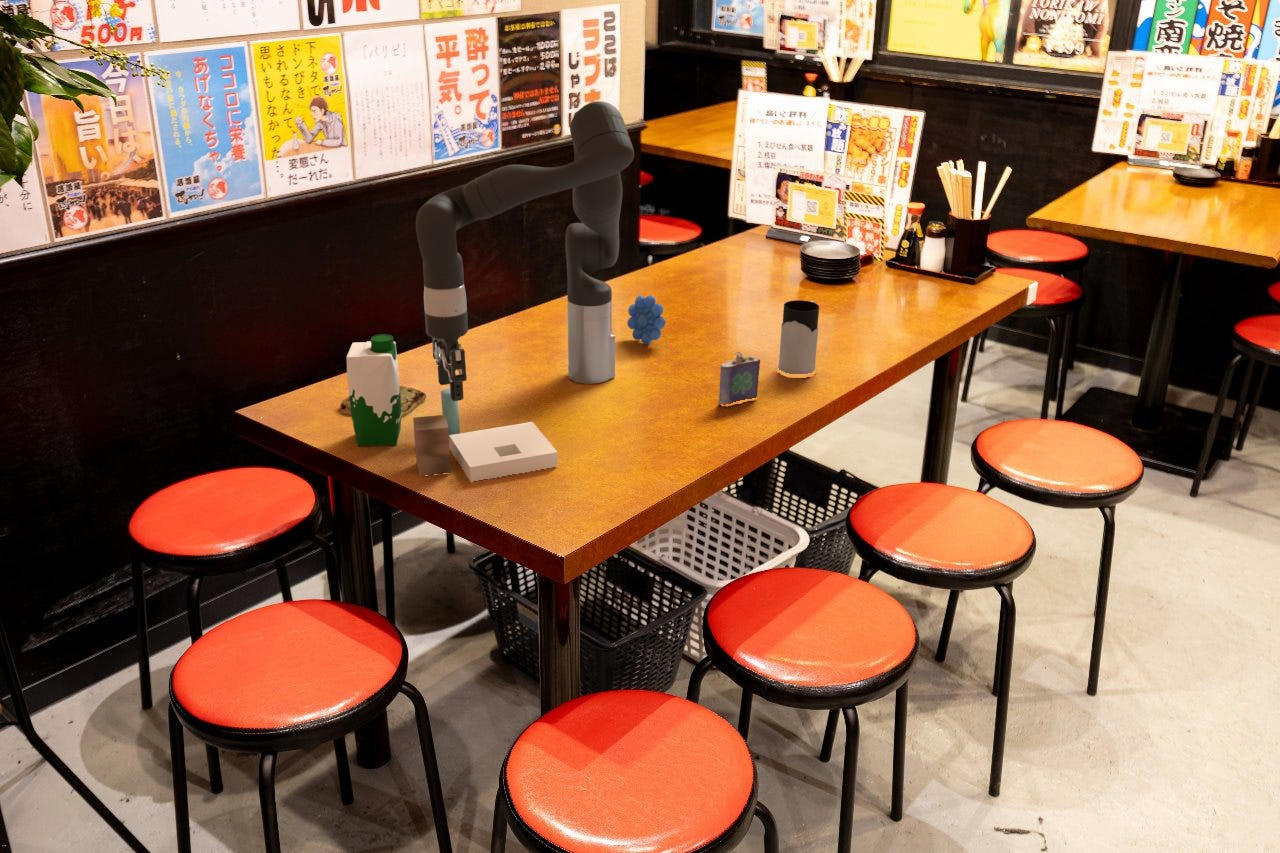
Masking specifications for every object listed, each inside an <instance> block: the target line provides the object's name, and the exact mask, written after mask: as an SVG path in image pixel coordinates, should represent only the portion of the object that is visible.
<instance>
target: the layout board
mask: <svg viewBox="0 0 1280 853" xmlns="http://www.w3.org/2000/svg"><path fill="white" fill-rule="evenodd" d="M449 444H450V450H451V451H450V453H451V454H452V455H453V457H454V458H455V460H456V459H457V460H456V461H458V462H459V463H458V462H457V463H458V465H459V464H460V465H459V467H460V468H461V467H462V468H461V469H462V471H463V470H464V471H463V472H465V473H466V474H465V473H464V474H465V476H466V475H467V476H468V477H467V476H466V477H467V478H469V479H470V480H469V479H468V480H469V482H470V481H477V482H479V481H478V480H483V479H488V480H492V478H494V479H497V477H499V478H503V477H502V476H505V477H507V476H506V475H511V476H513V475H512V474H516V475H520V474H519V473H522V474H526V473H525V472H527V473H531V472H530V471H533V472H536V471H535V470H538V471H541V470H540V469H544V470H547V469H546V468H550V469H553V468H552V467H555V468H557V467H556V466H559V465H558V464H559V463H558V459H559V458H558V451H557V450H556V449H555V447H554V446H553V445H552V443H551V442H550V440H548V439H547V437H545V435H544V434H543V433H542V431H540V430H539V428H538V427H537V426H536V424H535V423H534V422H533V421H530V422H523V423H518V424H517V423H516V424H510V425H506V426H505V425H504V426H498V427H491V428H487V429H486V428H485V429H480V430H473V431H467V432H460V434H454V435H449ZM490 478H491V479H490ZM483 481H484V480H483Z"/></svg>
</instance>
